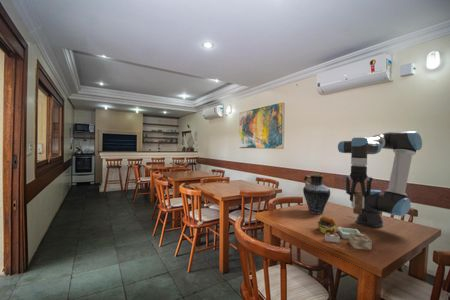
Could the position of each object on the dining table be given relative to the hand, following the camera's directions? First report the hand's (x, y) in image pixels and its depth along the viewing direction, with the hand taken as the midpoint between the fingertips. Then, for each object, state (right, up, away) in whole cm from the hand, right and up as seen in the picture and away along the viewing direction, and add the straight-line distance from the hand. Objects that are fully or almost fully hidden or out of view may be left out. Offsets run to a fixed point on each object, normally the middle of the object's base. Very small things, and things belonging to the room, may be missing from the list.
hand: (357, 207), depth 121 cm
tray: (0, -19, +7) cm, 20 cm away
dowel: (0, -3, 0) cm, 3 cm away
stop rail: (-14, -19, 0) cm, 23 cm away
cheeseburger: (-11, -18, +14) cm, 26 cm away
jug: (-3, -18, +50) cm, 53 cm away
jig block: (-2, -19, -5) cm, 20 cm away
